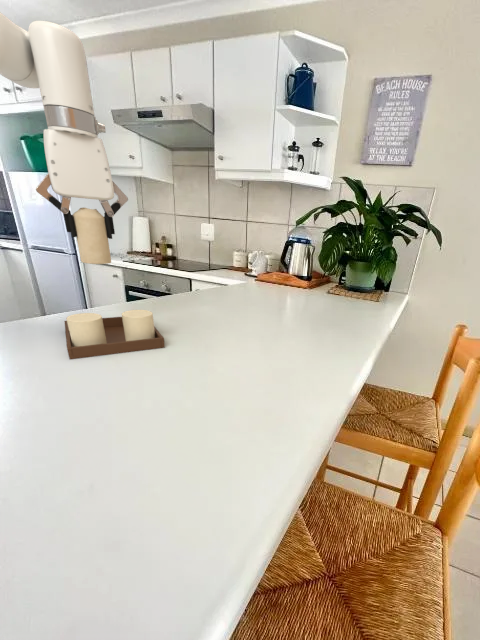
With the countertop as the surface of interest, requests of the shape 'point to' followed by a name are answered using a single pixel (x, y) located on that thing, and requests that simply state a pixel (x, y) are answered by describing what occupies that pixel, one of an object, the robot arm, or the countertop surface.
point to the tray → (113, 341)
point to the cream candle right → (138, 325)
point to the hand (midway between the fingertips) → (92, 236)
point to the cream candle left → (86, 329)
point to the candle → (92, 236)
